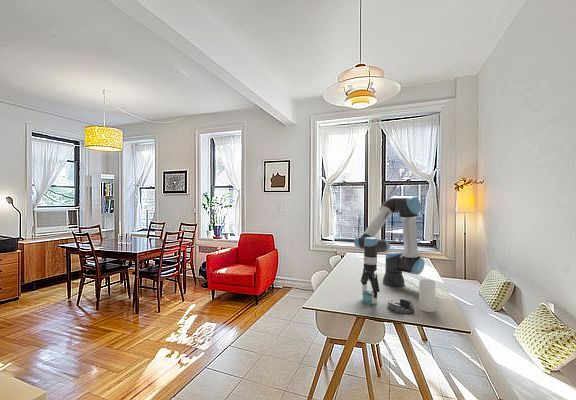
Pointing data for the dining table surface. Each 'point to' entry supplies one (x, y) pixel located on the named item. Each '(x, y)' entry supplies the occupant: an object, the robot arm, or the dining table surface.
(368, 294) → the cap
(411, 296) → the dining table surface
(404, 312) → the dark grey round bowl
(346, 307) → the dining table surface
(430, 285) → the cup
